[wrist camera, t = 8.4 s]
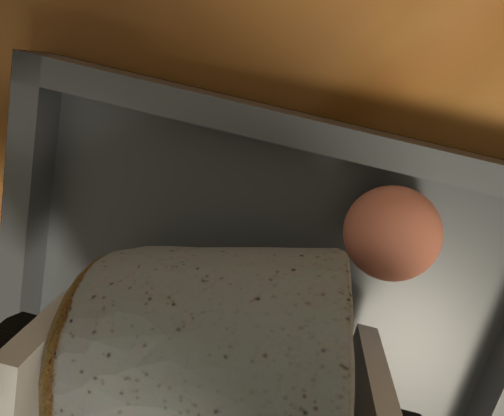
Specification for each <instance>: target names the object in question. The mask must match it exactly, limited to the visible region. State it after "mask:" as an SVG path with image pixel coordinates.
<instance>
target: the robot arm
mask: <svg viewBox="0 0 504 416" xmlns="http://www.w3.org/2000/svg"><path fill="white" fill-rule="evenodd" d="M68 289H69V288H68ZM68 289H66V290H65V291H64V292H63V293H62V294H61V295H60V296H59V297H58V298H56V299H55V300H54V301H53V302H52V303H51V304H50V305H49V306H47V307H46V308H45V309H44V310H43V311H42V312H41V313H40V314H39V315H35V314H31V313H27V312H20V313H18V314H15V315H13V316H10V317H8V318H6V319H5V320H3V321H2V322H1V323H0V416H39V403H38V383H39V376H40V370H41V363H42V358H43V354H44V349H45V345H46V340H47V336H48V332H49V330H50V327H51V324H52V321H53V318H54V316H55V314H56V312H57V310H58V307H59V305H60V303H61V301H62V299H63V297H64V295H65V293H66V292H67V290H68ZM353 345H354V356H355V402H354V416H422V415H421V414H419V413H415V412H411V411H407V410H404V409H401V407H400V404H399V401H398V397H397V394H396V390H395V387H394V383H393V380H392V376H391V373H390V369H389V366H388V362H387V359H386V356H385V352H384V349H383V345H382V342H381V338H380V335H379V331H378V328H374V327H370V326H366V325H362V324H358V323H357V326H356V329H355V332H354V335H353Z"/></svg>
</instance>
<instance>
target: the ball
mask: <svg viewBox="0 0 504 416" xmlns="http://www.w3.org/2000/svg"><path fill="white" fill-rule="evenodd" d="M443 236H444V231H443V224H442V220H441V218H440V215H439V213H438V211H437V209H436V208H435V206H434V205H433V204H432V203H431V201H430V200H428V199H427V198H426V197H425V196H424V195H422V194H421V193H419V192H418V191H416V190H413V189H411V188H408V187H405V186H398V185H386V186H381V187H377V188H374V189H372V190H370V191H368V192H366V193H364V194H363V195H362V196H360V197H359V198H358V199H357V200H356V201H355V202H354V203H353V204H352V206H351V207H350V209H349V211H348V213H347V215H346V217H345V221H344V225H343V239H344V245H345V248H346V250H347V253H348V255H349V256H350V258H351V260H352V261H353V262H354V264H355V265H356V266H357V267H358V268H359V269H360V270H362V271H363V272H365V273H366V274H367V275H369V276H371V277H374V278H376V279H379V280H383V281H390V282H398V281H405V280H409V279H412V278H414V277H416V276H419V275H420V274H422V273H423V272H425V271H426V270H427V269H428V268H430V266H431V265H432V264H433V263H434V262H435V260H436V259H437V257H438V255H439V253H440V251H441V248H442V244H443Z"/></svg>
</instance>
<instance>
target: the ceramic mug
mask: <svg viewBox="0 0 504 416" xmlns="http://www.w3.org/2000/svg"><path fill="white" fill-rule="evenodd" d="M353 327H354V317H353V299H352V285H351V273H350V263H349V257H348V255H347V253H346V252H345V251H343V250H341V249H338V248H283V247H180V246H144V247H138V248H131V249H125V250H119V251H114V252H111V253H108V254H105V255H103V256H100V257H99V258H97V259H96V260H95V261H93V262H92V263H91V264H89V265H88V266H87V267H86V268H85V269H84V270H83V271H82V272H81V273H80V274H79V275H78V276H77V277H76V279H75V280H74V282H73V283H72V285H71V286H70V287H69V289H68V290H67V292H66V293H65V295H64V297H63V299H62V301H61V303H60V305H59V307H58V310H57V312H56V314H55V316H54V318H53V321H52V324H51V327H50V330H49V332H48V336H47V340H46V345H45V349H44V354H43V358H42V363H41V370H40V376H39V383H38V403H39V416H354V402H355V356H354V345H353Z"/></svg>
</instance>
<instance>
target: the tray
mask: <svg viewBox="0 0 504 416" xmlns="http://www.w3.org/2000/svg"><path fill="white" fill-rule="evenodd" d="M386 185H398V186H405V187H408V188H411V189H413V190H416V191H418V192H419V193H421V194H422V195H424V196H425V197H426V198H427V199H428V200H430V201H431V203H432V204H433V205H434V206H435V208H436V209H437V211H438V213H439V215H440V218H441V220H442V224H443V231H444V236H443V244H442V248H441V251H440V253H439V255H438V257H437V259H436V260H435V262H434V263H433V264H432V265H431V266H430V268H428V269H427V270H426V271H425V272H423V273H422V274H420V275H419V276H416V277H414V278H412V279H409V280H405V281H398V282H390V281H383V280H379V279H376V278H374V277H371V276H369V275H367V274H366V273H365V272H363V271H362V270H360V269H359V268H358V267H357V266H356V265H355V264H354V262H353V261H352V260H351V258H350V256H349V255H348V253H347V250H346V248H345V245H344V239H343V225H344V221H345V217H346V215H347V213H348V211H349V209H350V207H351V206H352V204H353V203H354V202H355V201H356V200H357V199H358V198H359V197H360V196H362V195H363V194H364V193H366V192H368V191H370V190H372V189H374V188H377V187H381V186H386ZM144 246H180V247H283V248H338V249H341V250H343V251H345V252H346V253H347V255H348V257H349V263H350V273H351V285H352V299H353V317H354V327H353V335H354V332H355V329H356V326H357V323H358V324H362V325H366V326H370V327H374V328H378V331H379V335H380V338H381V342H382V345H383V349H384V352H385V356H386V359H387V362H388V366H389V369H390V373H391V376H392V380H393V383H394V387H395V390H396V394H397V397H398V401H399V404H400V407H401V409H404V410H407V411H411V412H415V413H419V414H421V415H422V416H504V160H501V159H497V158H493V157H489V156H484V155H480V154H476V153H472V152H467V151H463V150H459V149H455V148H450V147H446V146H442V145H438V144H433V143H429V142H425V141H421V140H417V139H412V138H408V137H404V136H400V135H395V134H391V133H387V132H383V131H378V130H374V129H370V128H366V127H361V126H357V125H353V124H349V123H345V122H340V121H336V120H332V119H328V118H323V117H319V116H315V115H311V114H306V113H302V112H298V111H294V110H290V109H285V108H281V107H277V106H273V105H268V104H264V103H260V102H256V101H251V100H247V99H243V98H239V97H234V96H230V95H226V94H222V93H218V92H213V91H209V90H205V89H201V88H196V87H192V86H188V85H184V84H179V83H175V82H171V81H167V80H162V79H158V78H154V77H150V76H146V75H141V74H137V73H133V72H129V71H124V70H120V69H116V68H112V67H107V66H103V65H99V64H95V63H90V62H86V61H82V60H78V59H74V58H69V57H65V56H61V55H57V54H52V53H48V52H38V51H27V50H16V49H13V54H12V68H11V82H10V97H9V111H8V125H7V139H6V154H5V168H4V182H3V196H2V211H1V225H0V323H1V322H2V321H3V320H5V319H6V318H8V317H10V316H13V315H15V314H18V313H20V312H27V313H31V314H35V315H39V314H40V313H41V312H42V311H43V310H44V309H45V308H46V307H47V306H49V305H50V304H51V303H52V302H53V301H54V300H55V299H56V298H58V297H59V296H60V295H61V294H62V293H63V292H64V291H65V290H66V289H68V288H69V287H70V286H71V285H72V283H73V282H74V280H75V279H76V277H77V276H78V275H79V274H80V273H81V272H82V271H83V270H84V269H85V268H86V267H87V266H88V265H89V264H91V263H92V262H93V261H95V260H96V259H97V258H99V257H100V256H103V255H105V254H108V253H111V252H114V251H119V250H125V249H131V248H138V247H144Z"/></svg>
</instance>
